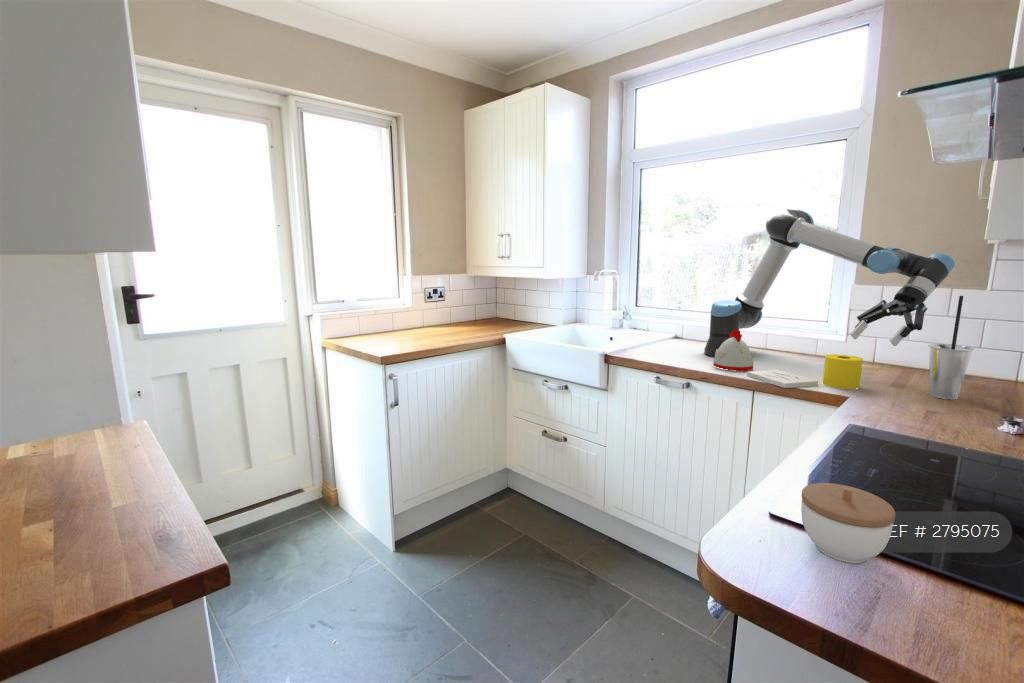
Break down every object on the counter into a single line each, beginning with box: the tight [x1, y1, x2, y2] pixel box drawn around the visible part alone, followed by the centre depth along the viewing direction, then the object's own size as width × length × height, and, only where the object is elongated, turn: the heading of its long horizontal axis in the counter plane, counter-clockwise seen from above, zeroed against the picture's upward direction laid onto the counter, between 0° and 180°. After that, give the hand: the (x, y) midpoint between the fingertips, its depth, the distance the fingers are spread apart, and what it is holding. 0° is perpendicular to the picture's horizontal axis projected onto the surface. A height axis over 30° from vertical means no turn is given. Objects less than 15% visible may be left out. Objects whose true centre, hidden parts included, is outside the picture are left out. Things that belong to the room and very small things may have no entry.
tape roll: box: [822, 353, 863, 390], centre depth 154 cm, size 10×10×9 cm
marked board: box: [747, 369, 819, 389], centre depth 161 cm, size 17×13×2 cm
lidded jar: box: [800, 482, 896, 564], centre depth 66 cm, size 11×11×9 cm
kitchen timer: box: [713, 329, 754, 372], centre depth 181 cm, size 14×14×15 cm
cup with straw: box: [927, 295, 975, 401], centre depth 139 cm, size 11×11×30 cm
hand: (871, 339), depth 155 cm, fingers open, 13 cm apart
